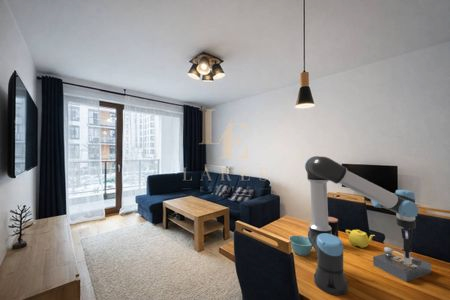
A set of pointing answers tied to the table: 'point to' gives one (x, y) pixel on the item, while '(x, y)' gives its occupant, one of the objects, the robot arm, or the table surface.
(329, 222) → the coffee jar
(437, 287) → the table surface
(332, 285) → the robot arm
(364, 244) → the teapot
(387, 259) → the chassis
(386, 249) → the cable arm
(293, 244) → the bowl
